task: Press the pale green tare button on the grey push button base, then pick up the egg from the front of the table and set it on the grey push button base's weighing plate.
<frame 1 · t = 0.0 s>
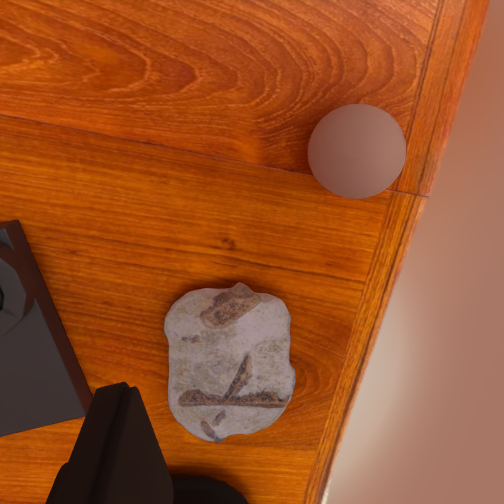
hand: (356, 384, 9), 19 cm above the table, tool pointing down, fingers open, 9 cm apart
egg: (337, 146, 27), on the table
stone: (229, 352, 31), on the table
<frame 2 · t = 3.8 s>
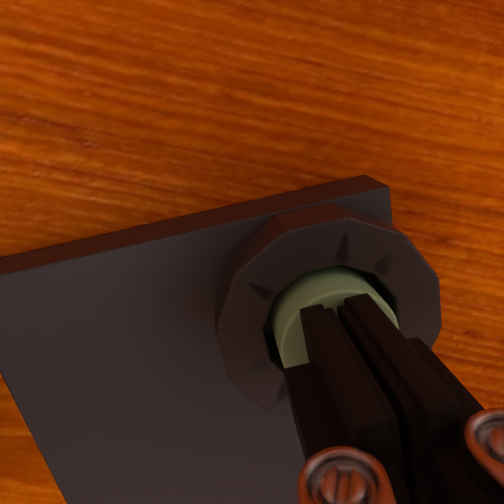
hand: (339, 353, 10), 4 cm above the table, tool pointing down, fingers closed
grey push button base: (229, 394, 16), on the table
tare button: (331, 327, 11), point 3 cm above the table, slide at -0.5 cm, touching gripper
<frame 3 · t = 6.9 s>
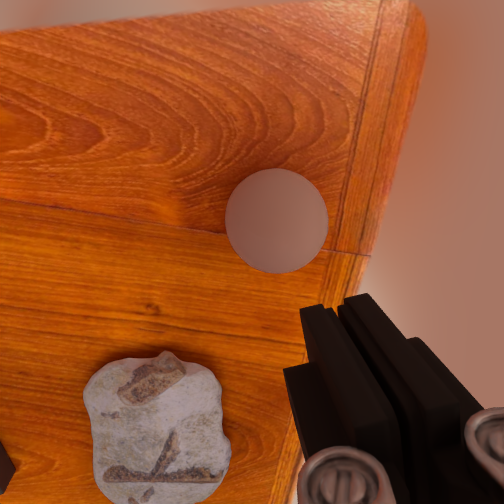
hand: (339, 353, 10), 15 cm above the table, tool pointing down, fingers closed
egg: (266, 205, 25), on the table
stone: (162, 419, 29), on the table
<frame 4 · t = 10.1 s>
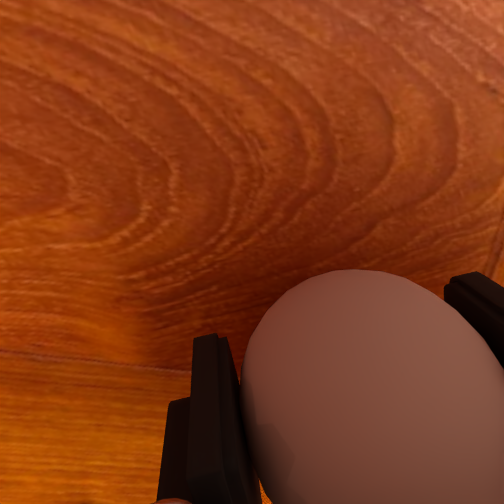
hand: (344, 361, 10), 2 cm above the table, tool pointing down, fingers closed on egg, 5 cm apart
egg: (321, 319, 12), on the table, touching gripper
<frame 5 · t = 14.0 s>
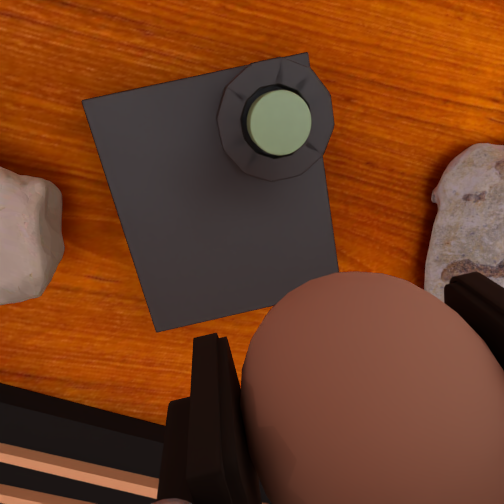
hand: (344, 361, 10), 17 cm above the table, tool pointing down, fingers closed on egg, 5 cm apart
egg: (322, 321, 12), point 15 cm above the table, touching gripper
grey push button base: (223, 198, 26), on the table
tare button: (278, 122, 21), point 4 cm above the table, slide at 0.1 cm
stone: (480, 230, 29), on the table
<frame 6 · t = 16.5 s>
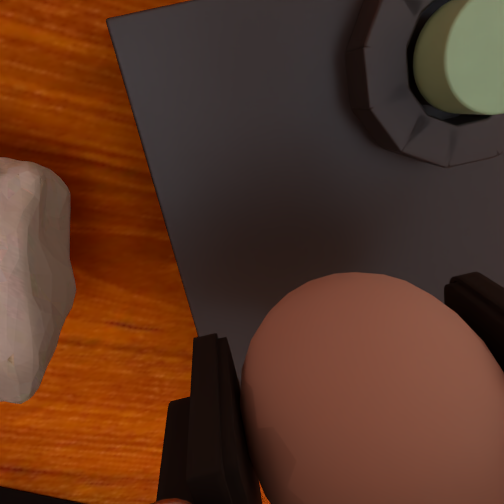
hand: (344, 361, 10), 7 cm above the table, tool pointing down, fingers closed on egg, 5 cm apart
egg: (322, 321, 12), point 5 cm above the table, touching gripper
grey push button base: (330, 198, 16), on the table
tare button: (482, 53, 11), point 4 cm above the table, slide at 0.1 cm
when the fingers open (4 cm above the table, at t = 18.0 s): egg stays where it is, resting on grey push button base.
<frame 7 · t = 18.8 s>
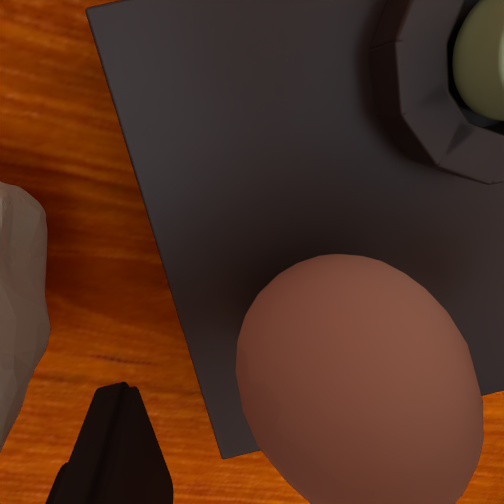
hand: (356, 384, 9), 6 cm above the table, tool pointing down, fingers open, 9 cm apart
egg: (311, 303, 13), point 2 cm above the table, touching grey push button base
grey push button base: (347, 215, 14), on the table
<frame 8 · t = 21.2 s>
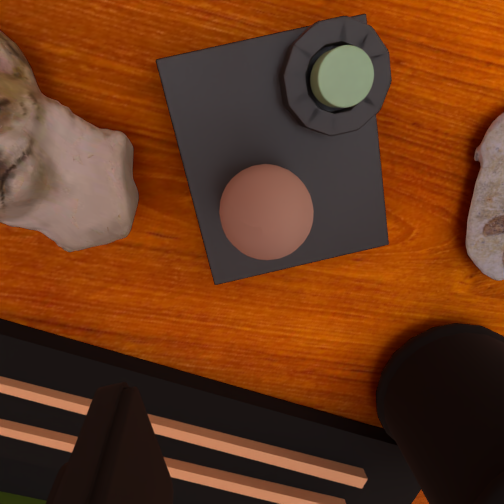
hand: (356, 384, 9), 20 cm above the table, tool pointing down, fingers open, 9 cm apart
egg: (258, 198, 27), point 2 cm above the table, touching grey push button base
grey push button base: (278, 157, 28), on the table
tare button: (341, 77, 23), point 4 cm above the table, slide at 0.1 cm
ceramic sculpture: (37, 144, 26), on the table
container: (434, 372, 35), on the table
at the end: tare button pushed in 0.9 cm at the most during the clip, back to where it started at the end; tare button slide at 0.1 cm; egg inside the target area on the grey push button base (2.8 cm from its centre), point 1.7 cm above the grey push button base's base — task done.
